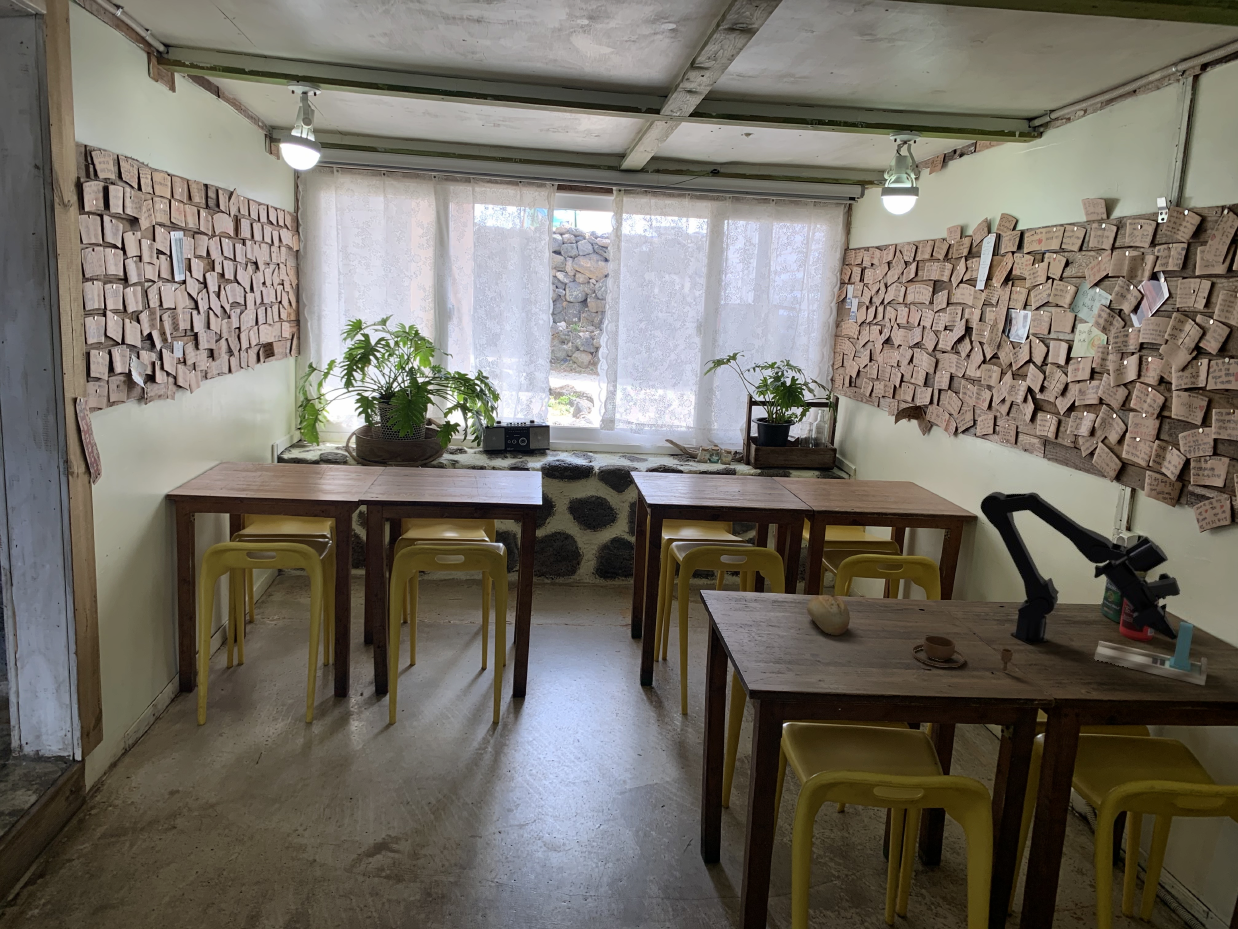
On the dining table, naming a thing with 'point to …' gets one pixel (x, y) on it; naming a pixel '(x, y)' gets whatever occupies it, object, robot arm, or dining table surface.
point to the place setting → (950, 651)
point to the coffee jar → (1115, 599)
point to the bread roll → (829, 614)
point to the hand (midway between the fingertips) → (1175, 638)
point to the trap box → (1149, 662)
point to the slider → (1182, 648)
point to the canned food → (1129, 628)
